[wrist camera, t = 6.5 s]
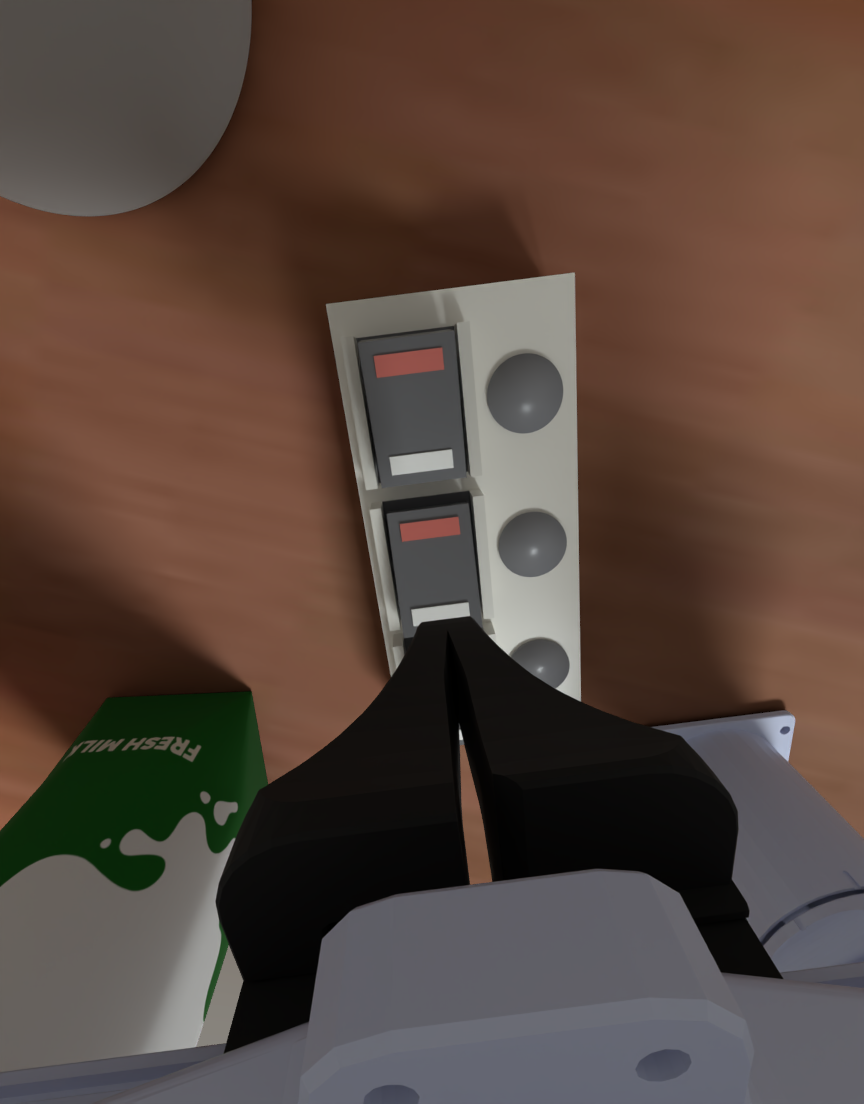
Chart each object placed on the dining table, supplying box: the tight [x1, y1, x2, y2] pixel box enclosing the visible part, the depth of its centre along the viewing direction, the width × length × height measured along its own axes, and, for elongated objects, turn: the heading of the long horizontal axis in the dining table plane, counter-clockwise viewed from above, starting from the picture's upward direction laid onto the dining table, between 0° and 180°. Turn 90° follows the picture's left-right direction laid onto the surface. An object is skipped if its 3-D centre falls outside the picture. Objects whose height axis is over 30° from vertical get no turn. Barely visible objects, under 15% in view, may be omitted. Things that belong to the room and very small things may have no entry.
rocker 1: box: [358, 329, 467, 488], centre depth 15 cm, size 4×3×2 cm, turn 7°
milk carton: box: [0, 691, 268, 1072], centre depth 15 cm, size 9×9×20 cm
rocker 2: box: [387, 502, 483, 638], centre depth 17 cm, size 4×3×2 cm, turn 7°
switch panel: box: [326, 273, 581, 701], centre depth 20 cm, size 22×8×4 cm, turn 7°
